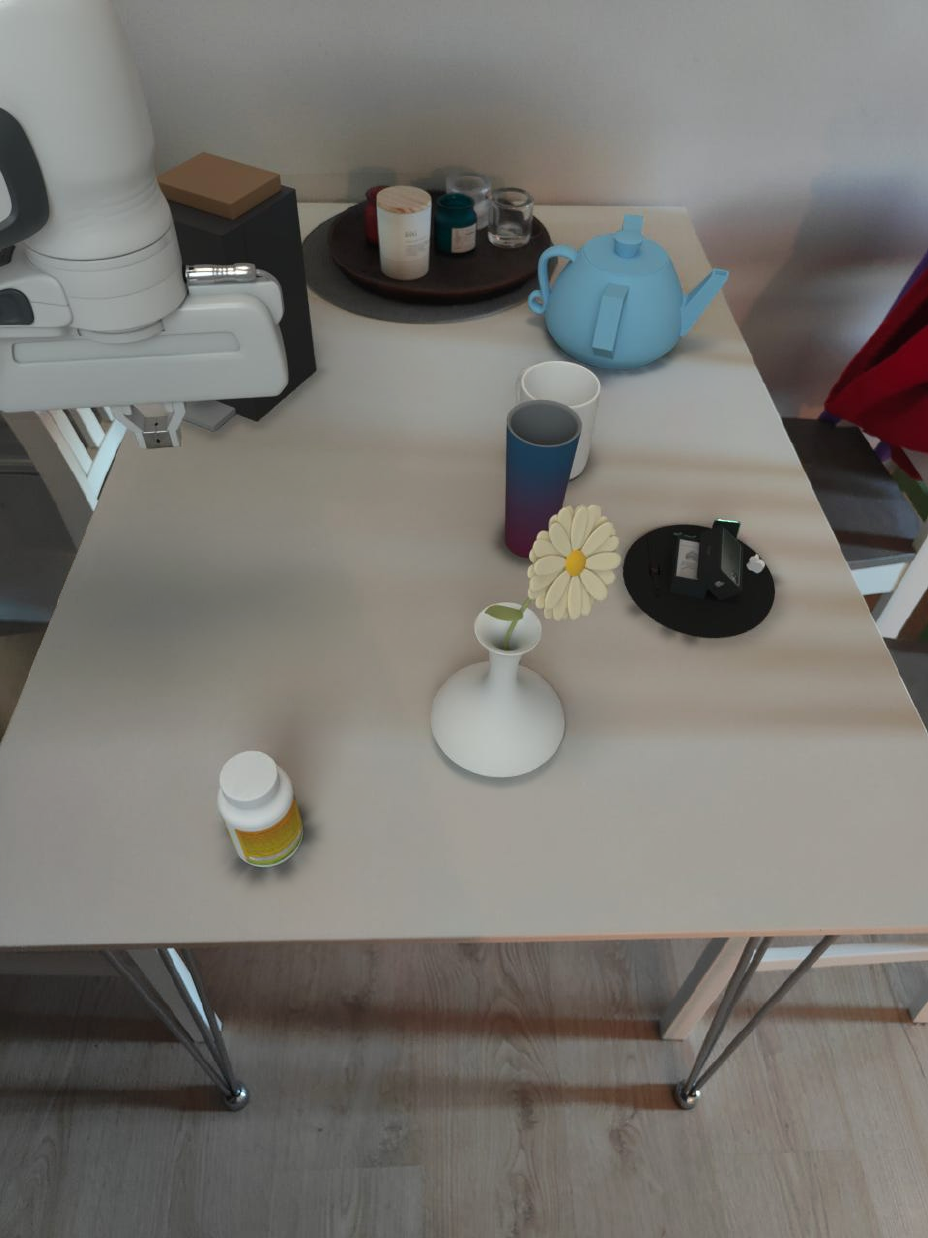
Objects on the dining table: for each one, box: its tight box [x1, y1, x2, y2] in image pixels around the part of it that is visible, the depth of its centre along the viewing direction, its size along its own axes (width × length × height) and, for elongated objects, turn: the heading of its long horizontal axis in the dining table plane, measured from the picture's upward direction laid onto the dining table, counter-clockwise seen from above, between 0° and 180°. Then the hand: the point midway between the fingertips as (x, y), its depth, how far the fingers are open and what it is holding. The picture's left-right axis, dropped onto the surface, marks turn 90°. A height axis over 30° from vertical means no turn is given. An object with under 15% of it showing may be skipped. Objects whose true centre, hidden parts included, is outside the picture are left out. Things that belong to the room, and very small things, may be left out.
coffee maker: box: [156, 151, 317, 432], centre depth 94 cm, size 16×12×24 cm
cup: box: [504, 400, 582, 559], centre depth 82 cm, size 7×7×15 cm
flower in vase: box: [429, 503, 622, 778], centre depth 64 cm, size 13×11×25 cm
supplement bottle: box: [216, 750, 304, 868], centre depth 63 cm, size 5×5×10 cm
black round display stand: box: [622, 518, 776, 639], centre depth 83 cm, size 15×15×6 cm
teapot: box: [527, 213, 730, 370], centre depth 108 cm, size 19×19×14 cm
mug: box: [515, 360, 602, 481], centre depth 93 cm, size 12×8×10 cm
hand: (161, 443), depth 64 cm, fingers closed
